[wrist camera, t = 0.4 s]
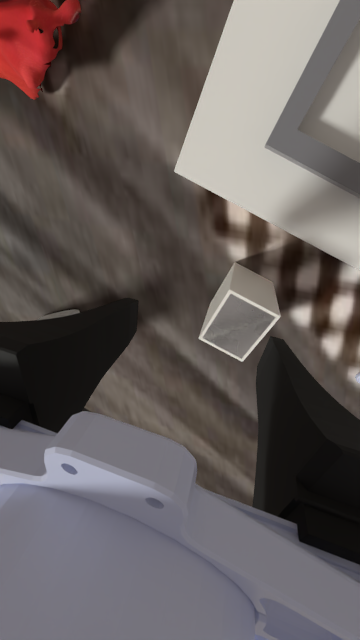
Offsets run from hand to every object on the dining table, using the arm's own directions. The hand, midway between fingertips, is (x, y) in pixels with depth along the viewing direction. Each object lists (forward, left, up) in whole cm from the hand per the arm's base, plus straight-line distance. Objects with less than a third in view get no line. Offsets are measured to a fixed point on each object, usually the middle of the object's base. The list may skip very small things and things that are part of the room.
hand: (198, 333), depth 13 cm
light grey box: (-2, +1, -9) cm, 10 cm away
